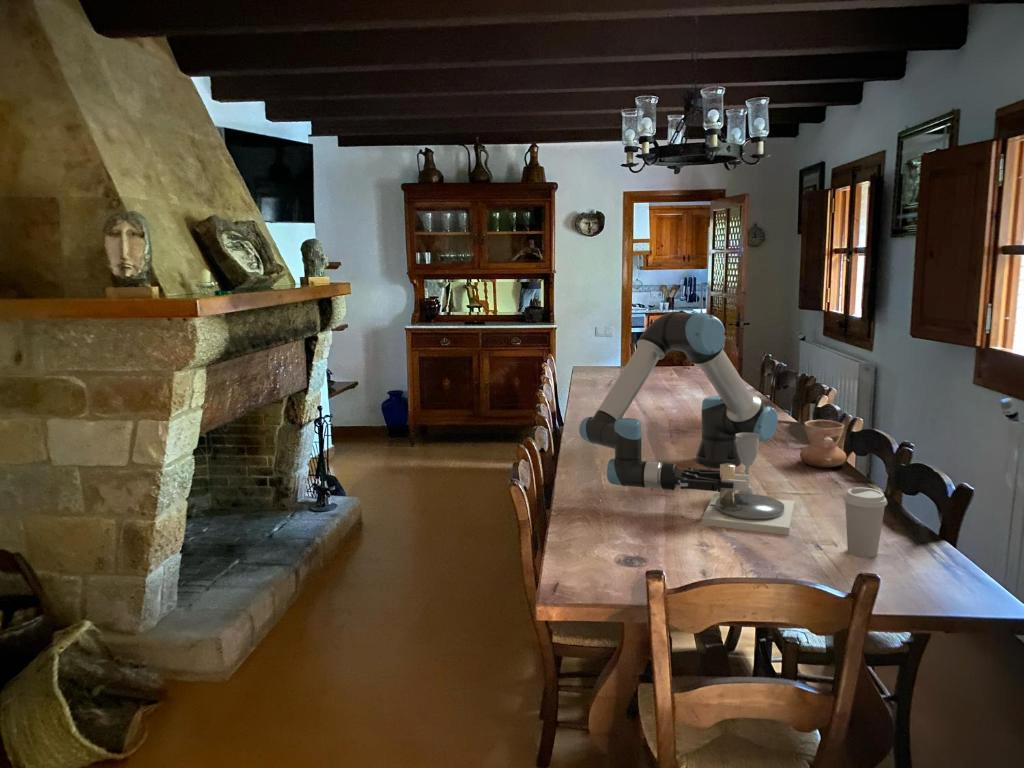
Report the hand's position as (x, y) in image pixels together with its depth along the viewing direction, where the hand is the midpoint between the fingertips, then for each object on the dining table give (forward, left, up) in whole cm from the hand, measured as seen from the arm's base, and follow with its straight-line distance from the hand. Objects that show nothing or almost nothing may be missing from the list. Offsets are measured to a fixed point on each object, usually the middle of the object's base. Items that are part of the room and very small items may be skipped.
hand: (747, 482), depth 204 cm
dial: (-2, +1, -8) cm, 8 cm away
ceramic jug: (-61, +18, -10) cm, 64 cm away
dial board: (-2, +1, -10) cm, 10 cm away
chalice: (-22, -2, -10) cm, 24 cm away
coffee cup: (+15, +29, -10) cm, 34 cm away
